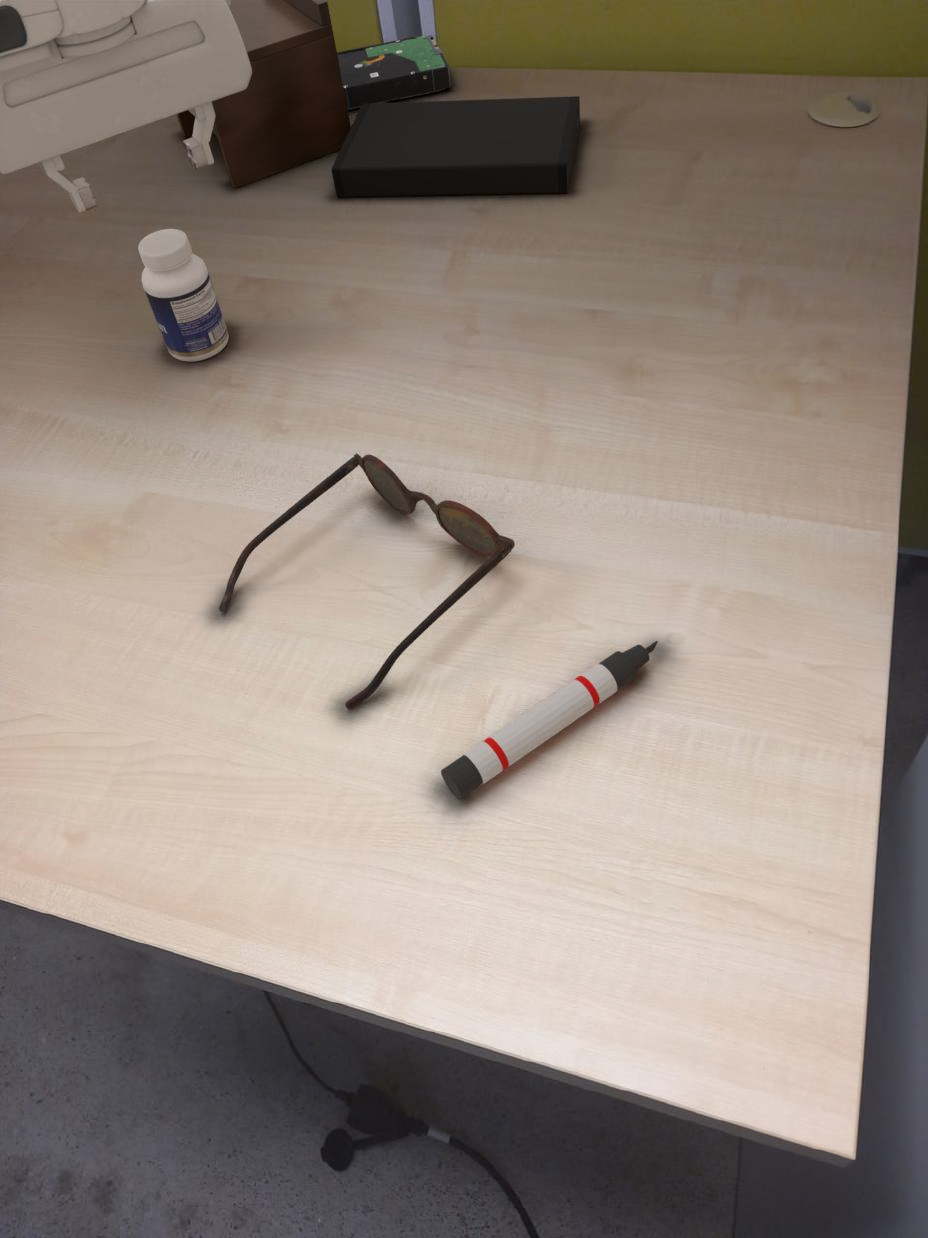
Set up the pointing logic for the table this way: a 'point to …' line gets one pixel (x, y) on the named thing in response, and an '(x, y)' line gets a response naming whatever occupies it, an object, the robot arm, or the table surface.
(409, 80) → the disk drive
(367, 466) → the eyeglasses
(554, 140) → the external hard drive
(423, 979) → the table surface
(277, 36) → the rack
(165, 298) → the pill bottle
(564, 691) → the marker
